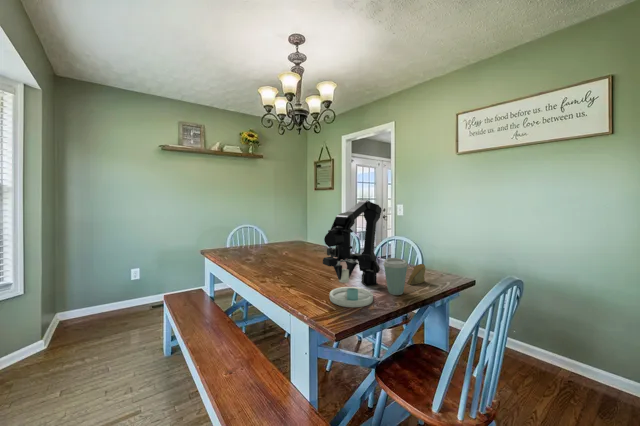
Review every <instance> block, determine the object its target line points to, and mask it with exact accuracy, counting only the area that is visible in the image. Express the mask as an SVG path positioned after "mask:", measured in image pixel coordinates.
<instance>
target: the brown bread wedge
mask: <svg viewBox="0 0 640 426" xmlns="http://www.w3.org/2000/svg"><path fill="white" fill-rule="evenodd" d="M412 269H413V270H412V272H411V274H410V275H409V278H408V279H407V284H408V285H409V286H410V285H416V284H417V283H419V284H423V283H425V280H426V279H425V274H426V265H425V263H420V264H418V265H415V266H413V268H412Z"/></svg>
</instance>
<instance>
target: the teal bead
mask: <svg viewBox="0 0 640 426" xmlns="http://www.w3.org/2000/svg"><path fill="white" fill-rule="evenodd" d="M347 300H351V301H356V300H358V289H355V288H349V289H347Z"/></svg>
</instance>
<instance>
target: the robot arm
mask: <svg viewBox="0 0 640 426" xmlns="http://www.w3.org/2000/svg"><path fill="white" fill-rule="evenodd" d="M362 214H363V218H364V220H365V222H366V223H365V233H364V243H363V251H362V253H358V252H356V253H351V252H352V251H351V250H352V249H353V246H352V245H351V243H352V242H351V241H352V240H351V239H352V238H351V237H352V235H351V234H352V233H354V231H353V229H351V228H352V227H353V226H354V225H355V224H356V223H355V222H356V219H357V218H359V217H360V216H361V215H362ZM381 214H382V207H381V206H380V205H379V204H377V203H374V202H371V200H369V199H360V200H359V201H358V202H357V204H355V205H353V206H352V207H351V208H349V210H347V211H345V212H341V213H339V214H337V215H336V216H335V217H334V220H333V223H332V224H331V227H330V229H328V232H327V233H326V234H325V236H324V238H323V241H324V244H325V245H326V246H327V247H328V248H326V254H327V256H326V257H324V258H323V259H322V265H325V266H327V267H333V269H334V271H335V273H336V276H337V278H338V281H339V280H341V274H342V269H343V265H342V264H341V263H344V262H345V264H346V269H348V270H349V279H350V277H351V276H352V274H353V272H354V270H355V268H356V267H357V265H358V267H359V271H360V272H362V274H361V281H360V282H361V283H362V284H363V285H364V286H367V287H368V286H376V285H379V283H378V282H377V281H378V280H377V278H378V277H377V276H378V275H377V274H378V273H379V272H380V270H381V267H380V265H379V263H378V262H377V255H376V253H375V243H376V231H377V230H376V229H377V222H379V220H380V218H381ZM333 247H335V249H333ZM357 261H358V262H357Z"/></svg>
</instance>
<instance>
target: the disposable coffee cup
mask: <svg viewBox="0 0 640 426" xmlns="http://www.w3.org/2000/svg"><path fill="white" fill-rule="evenodd" d="M382 266H383V267H384V269H383V270H384V273H385V280H386V286H387V291H388V294H390V295H393V296H399V295H403V294H404V291H405V284H406V276H407V271H408V270H407V269H408V263H407V261H406V260H404V259H403V258H398V257H389V258H386V259H384V261H383V264H382Z"/></svg>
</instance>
